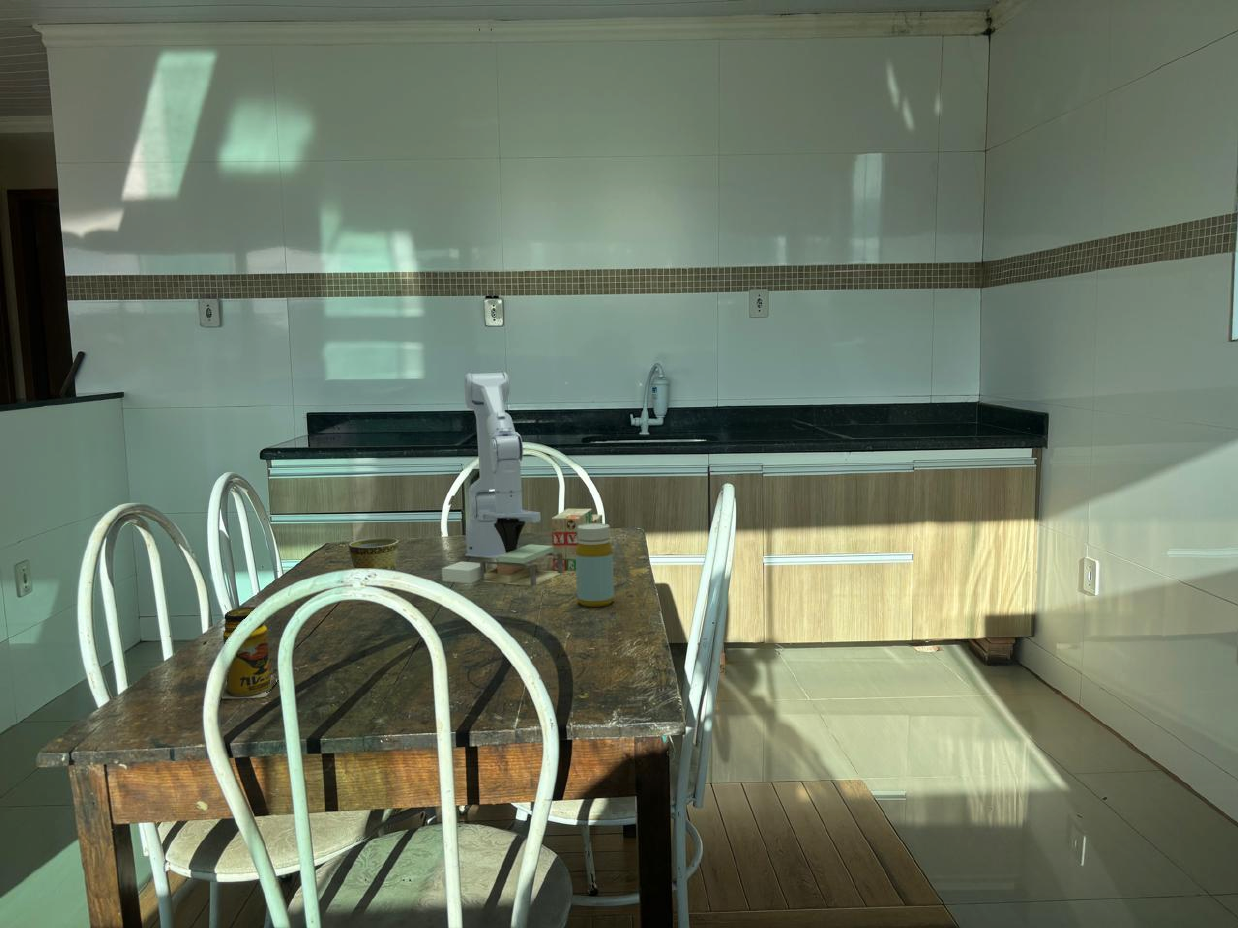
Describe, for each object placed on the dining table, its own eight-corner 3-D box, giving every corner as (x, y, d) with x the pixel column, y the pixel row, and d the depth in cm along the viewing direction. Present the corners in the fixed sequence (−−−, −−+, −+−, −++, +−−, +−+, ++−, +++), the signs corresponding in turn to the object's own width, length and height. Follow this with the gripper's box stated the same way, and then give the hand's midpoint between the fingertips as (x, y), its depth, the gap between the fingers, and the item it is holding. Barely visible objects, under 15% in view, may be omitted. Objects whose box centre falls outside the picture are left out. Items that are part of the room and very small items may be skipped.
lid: (498, 561, 199) (498, 555, 198) (529, 549, 210) (529, 544, 210) (523, 563, 196) (523, 557, 196) (553, 551, 207) (553, 546, 207)
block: (497, 576, 204) (497, 558, 204) (507, 572, 208) (507, 554, 207) (513, 578, 203) (512, 559, 202) (523, 573, 206) (522, 556, 206)
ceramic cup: (407, 590, 196) (404, 542, 195) (359, 597, 191) (356, 549, 190) (387, 578, 207) (384, 533, 206) (341, 585, 202) (338, 539, 201)
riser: (442, 582, 202) (441, 568, 202) (461, 574, 208) (460, 561, 208) (469, 584, 199) (469, 570, 199) (488, 577, 205) (487, 563, 205)
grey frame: (479, 582, 201) (478, 561, 201) (512, 568, 213) (511, 548, 212) (533, 587, 195) (532, 565, 195) (564, 573, 207) (563, 552, 206)
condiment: (266, 697, 136) (260, 616, 134) (205, 700, 135) (198, 619, 134) (280, 680, 143) (274, 603, 142) (222, 683, 142) (216, 605, 141)
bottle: (604, 596, 186) (602, 521, 185) (620, 604, 180) (617, 526, 178) (572, 601, 183) (569, 525, 182) (586, 609, 177) (583, 530, 175)
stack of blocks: (579, 551, 230) (577, 501, 229) (604, 552, 228) (602, 502, 227) (553, 571, 209) (550, 517, 208) (580, 572, 208) (578, 517, 206)
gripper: (469, 492, 202) (472, 554, 204) (527, 495, 196) (530, 559, 198) (487, 488, 209) (490, 548, 210) (544, 490, 202) (547, 552, 204)
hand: (510, 553), depth 204 cm, fingers closed
